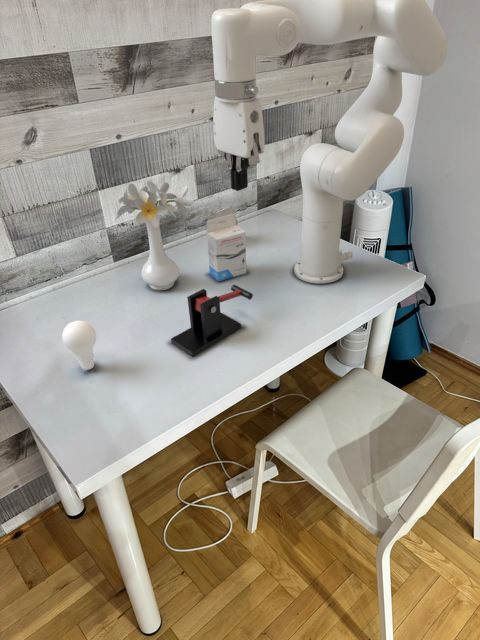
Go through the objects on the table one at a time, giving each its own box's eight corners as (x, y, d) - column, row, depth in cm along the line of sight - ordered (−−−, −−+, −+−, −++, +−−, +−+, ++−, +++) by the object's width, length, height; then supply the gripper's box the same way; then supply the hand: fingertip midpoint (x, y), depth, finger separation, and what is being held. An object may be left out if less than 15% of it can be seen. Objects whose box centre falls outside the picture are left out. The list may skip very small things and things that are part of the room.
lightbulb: (75, 381, 98) (60, 336, 91) (71, 363, 102) (56, 318, 96) (106, 373, 100) (94, 328, 93) (101, 355, 104) (89, 311, 97)
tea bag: (238, 240, 146) (236, 207, 140) (222, 248, 142) (219, 214, 135) (228, 237, 148) (227, 204, 141) (212, 245, 144) (210, 211, 137)
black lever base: (220, 316, 115) (217, 278, 109) (241, 328, 111) (239, 290, 105) (171, 343, 107) (165, 304, 101) (192, 357, 104) (187, 317, 98)
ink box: (218, 282, 127) (214, 227, 118) (209, 274, 130) (204, 220, 121) (247, 273, 131) (245, 219, 122) (237, 265, 134) (235, 212, 125)
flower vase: (207, 277, 129) (199, 180, 114) (150, 307, 118) (132, 204, 103) (174, 261, 136) (161, 167, 121) (117, 288, 125) (95, 189, 110)
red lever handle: (235, 291, 114) (235, 282, 113) (252, 300, 111) (253, 290, 110) (190, 306, 106) (190, 296, 104) (207, 316, 103) (207, 305, 101)
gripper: (279, 92, 91) (278, 192, 102) (223, 81, 99) (228, 175, 110) (250, 99, 86) (252, 203, 98) (193, 87, 95) (201, 184, 106)
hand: (239, 188), depth 104 cm, fingers closed
